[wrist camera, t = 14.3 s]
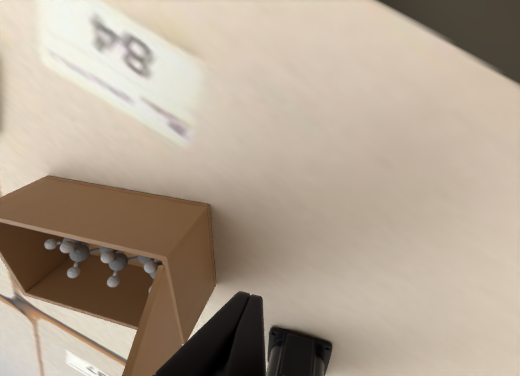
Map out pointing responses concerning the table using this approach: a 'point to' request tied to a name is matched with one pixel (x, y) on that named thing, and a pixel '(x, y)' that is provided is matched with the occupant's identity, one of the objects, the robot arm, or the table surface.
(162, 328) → the carton flap
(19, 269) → the carton
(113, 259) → the molecular model
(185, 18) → the table surface
